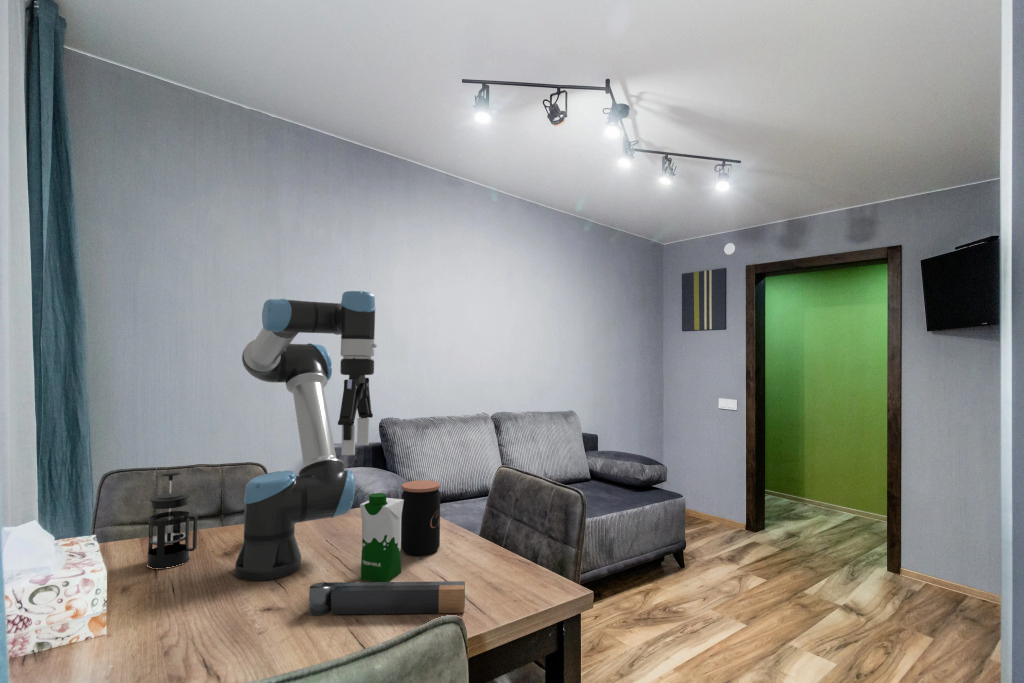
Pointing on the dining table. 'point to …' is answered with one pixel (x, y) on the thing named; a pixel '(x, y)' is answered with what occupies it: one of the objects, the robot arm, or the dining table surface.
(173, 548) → the french press
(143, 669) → the dining table surface
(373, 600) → the arm
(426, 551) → the coffee jar
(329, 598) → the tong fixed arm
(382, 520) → the milk carton
